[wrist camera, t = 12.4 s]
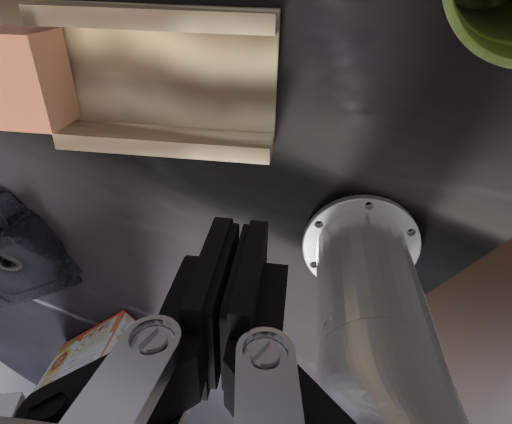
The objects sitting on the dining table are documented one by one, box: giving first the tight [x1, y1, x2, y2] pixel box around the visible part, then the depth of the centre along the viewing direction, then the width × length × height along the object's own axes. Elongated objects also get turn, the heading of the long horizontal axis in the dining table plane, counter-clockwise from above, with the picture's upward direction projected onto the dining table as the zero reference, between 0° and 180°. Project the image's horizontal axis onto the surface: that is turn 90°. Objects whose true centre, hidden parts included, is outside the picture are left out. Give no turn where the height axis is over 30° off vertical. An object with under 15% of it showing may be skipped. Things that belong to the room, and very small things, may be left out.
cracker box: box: [33, 310, 136, 392], centre depth 50 cm, size 14×6×21 cm, turn 127°
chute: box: [0, 0, 281, 165], centre depth 35 cm, size 12×25×5 cm, turn 89°
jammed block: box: [0, 24, 81, 134], centre depth 35 cm, size 8×6×5 cm
